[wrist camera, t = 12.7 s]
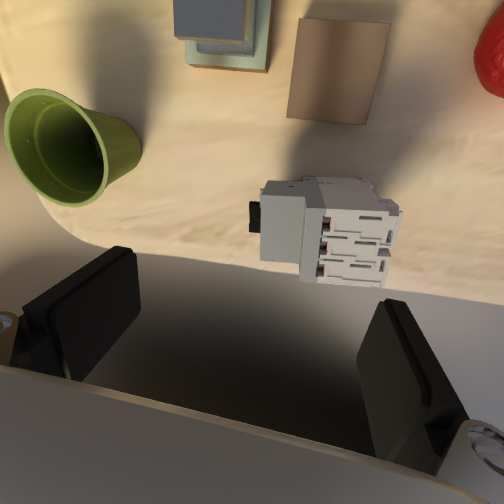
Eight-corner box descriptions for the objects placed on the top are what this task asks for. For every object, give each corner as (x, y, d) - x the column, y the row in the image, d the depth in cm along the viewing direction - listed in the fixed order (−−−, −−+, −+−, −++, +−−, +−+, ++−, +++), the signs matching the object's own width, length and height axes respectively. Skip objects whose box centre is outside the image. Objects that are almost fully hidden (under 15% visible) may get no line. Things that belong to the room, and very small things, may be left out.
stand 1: (277, -30, 28) (274, -45, 25) (267, 73, 32) (264, 69, 30) (193, -33, 29) (183, -49, 26) (194, 67, 33) (185, 62, 30)
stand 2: (382, 32, 29) (391, 23, 26) (360, 124, 33) (365, 125, 30) (298, 27, 30) (299, 18, 27) (287, 117, 34) (286, 117, 31)
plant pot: (144, 91, 35) (82, 79, 25) (166, 183, 40) (122, 204, 30) (65, 103, 37) (-20, 97, 27) (96, 189, 42) (33, 210, 32)
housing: (259, -31, 26) (248, -78, 20) (253, 57, 29) (241, 40, 23) (199, -33, 27) (170, -80, 20) (200, 53, 30) (174, 36, 24)
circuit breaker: (258, 174, 38) (237, 204, 24) (365, 177, 36) (406, 212, 22) (257, 225, 41) (238, 276, 28) (355, 230, 39) (386, 288, 26)
